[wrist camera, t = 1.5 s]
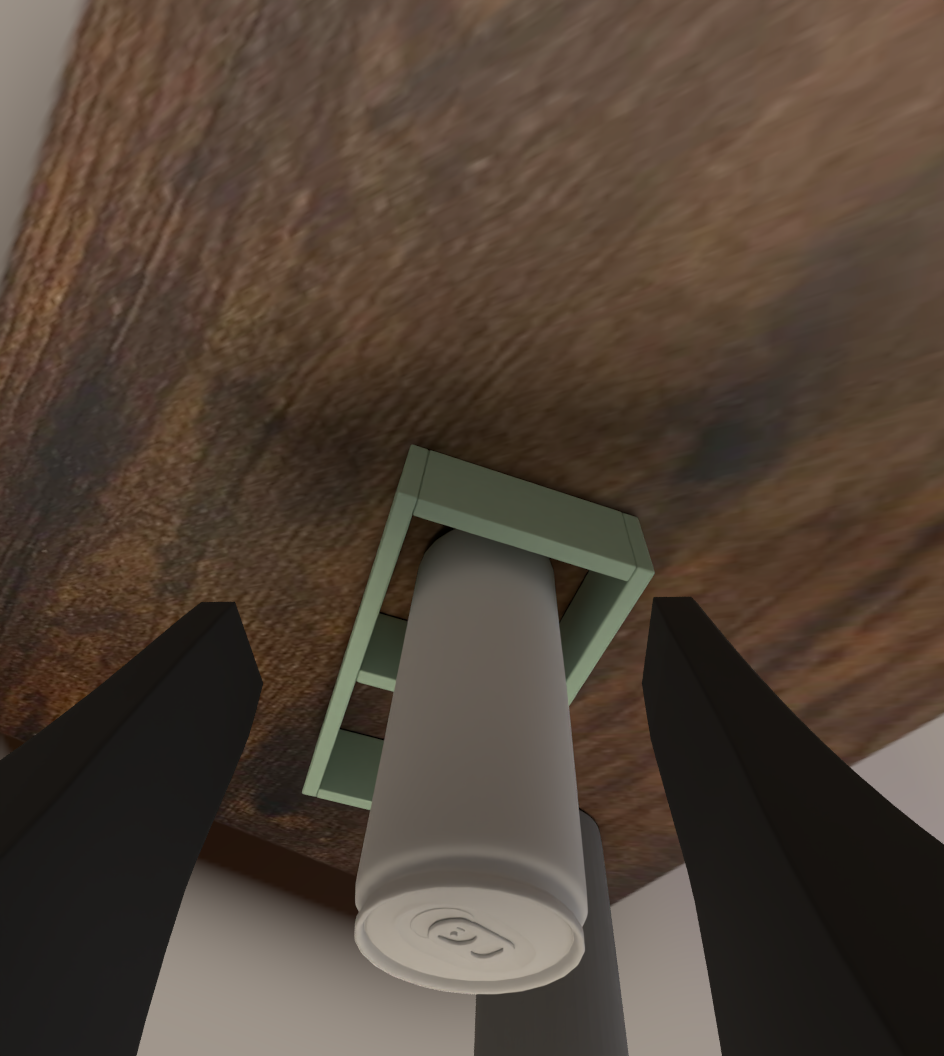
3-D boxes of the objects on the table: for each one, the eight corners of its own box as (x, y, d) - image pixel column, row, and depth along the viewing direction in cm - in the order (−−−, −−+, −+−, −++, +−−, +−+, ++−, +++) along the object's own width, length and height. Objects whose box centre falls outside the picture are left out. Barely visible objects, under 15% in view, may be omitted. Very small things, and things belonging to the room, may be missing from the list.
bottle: (625, 838, 31) (701, 1325, 19) (535, 877, 34) (550, 1331, 21) (547, 783, 29) (575, 1293, 17) (457, 830, 31) (424, 1303, 19)
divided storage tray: (638, 517, 21) (656, 573, 18) (486, 774, 29) (484, 837, 26) (411, 443, 20) (397, 491, 17) (319, 732, 28) (301, 794, 25)
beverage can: (487, 487, 20) (465, 851, 10) (584, 573, 22) (643, 956, 12) (391, 568, 22) (297, 937, 13) (487, 641, 24) (470, 1015, 14)
